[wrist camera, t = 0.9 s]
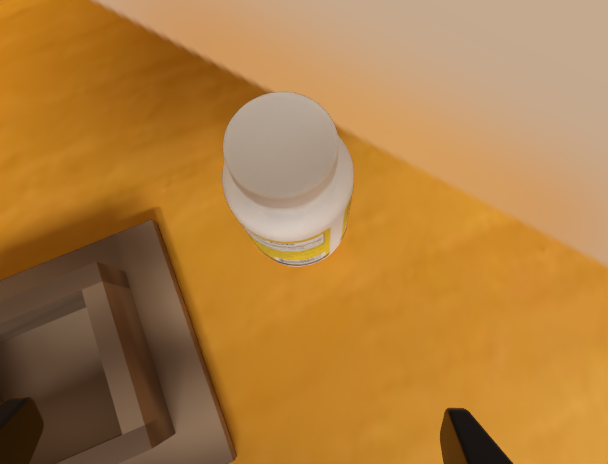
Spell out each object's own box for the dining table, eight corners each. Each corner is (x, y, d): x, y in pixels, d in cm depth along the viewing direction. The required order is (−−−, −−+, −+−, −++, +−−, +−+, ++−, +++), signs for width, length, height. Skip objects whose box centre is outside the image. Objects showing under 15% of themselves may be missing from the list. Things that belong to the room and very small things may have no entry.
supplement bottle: (296, 157, 25) (280, 44, 15) (366, 218, 24) (396, 137, 14) (229, 222, 24) (170, 146, 15) (298, 289, 23) (283, 253, 14)
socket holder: (236, 456, 21) (219, 481, 17) (-18, 569, 20) (-93, 620, 17) (156, 223, 24) (127, 202, 21) (-66, 313, 23) (-139, 308, 20)
